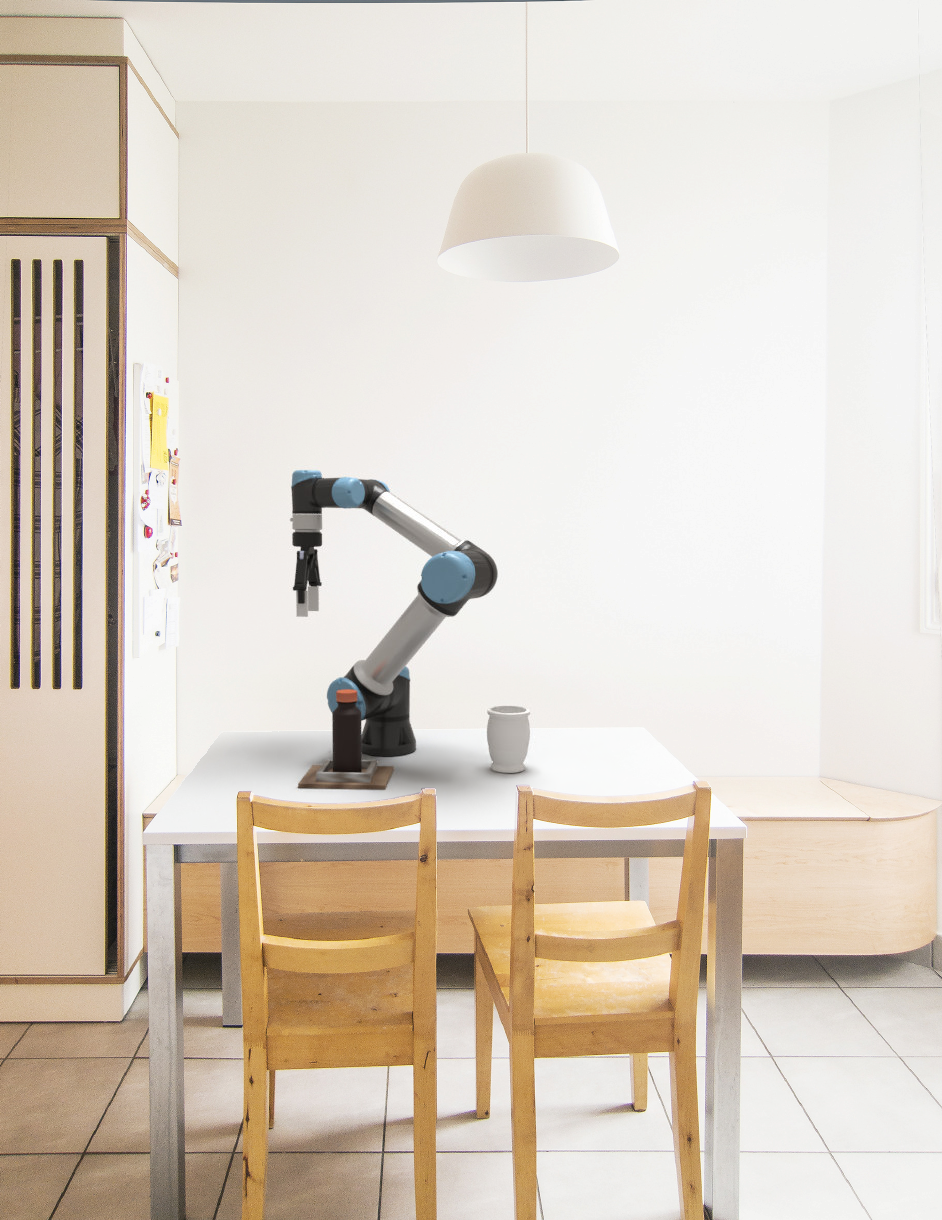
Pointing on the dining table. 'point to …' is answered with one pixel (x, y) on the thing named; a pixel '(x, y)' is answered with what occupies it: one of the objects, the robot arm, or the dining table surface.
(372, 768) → the tray
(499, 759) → the jar
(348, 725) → the vinegar
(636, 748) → the dining table surface
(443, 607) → the robot arm
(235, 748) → the dining table surface
